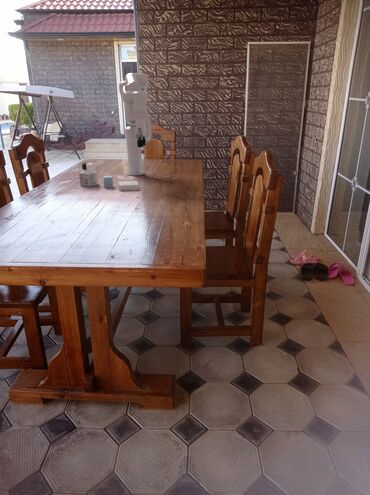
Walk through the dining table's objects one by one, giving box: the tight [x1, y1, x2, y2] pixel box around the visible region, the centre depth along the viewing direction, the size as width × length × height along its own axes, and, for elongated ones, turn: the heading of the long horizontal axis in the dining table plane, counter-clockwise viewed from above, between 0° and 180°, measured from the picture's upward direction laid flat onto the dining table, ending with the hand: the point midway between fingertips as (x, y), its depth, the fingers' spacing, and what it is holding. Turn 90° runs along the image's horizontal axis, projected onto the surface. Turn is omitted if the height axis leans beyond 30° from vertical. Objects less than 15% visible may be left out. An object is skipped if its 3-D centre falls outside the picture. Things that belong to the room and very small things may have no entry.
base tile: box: [117, 180, 140, 192], centre depth 215 cm, size 11×11×3 cm
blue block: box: [102, 175, 114, 189], centre depth 219 cm, size 5×5×6 cm
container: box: [78, 162, 99, 187], centre depth 222 cm, size 8×8×13 cm
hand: (141, 146), depth 216 cm, fingers open, 9 cm apart
